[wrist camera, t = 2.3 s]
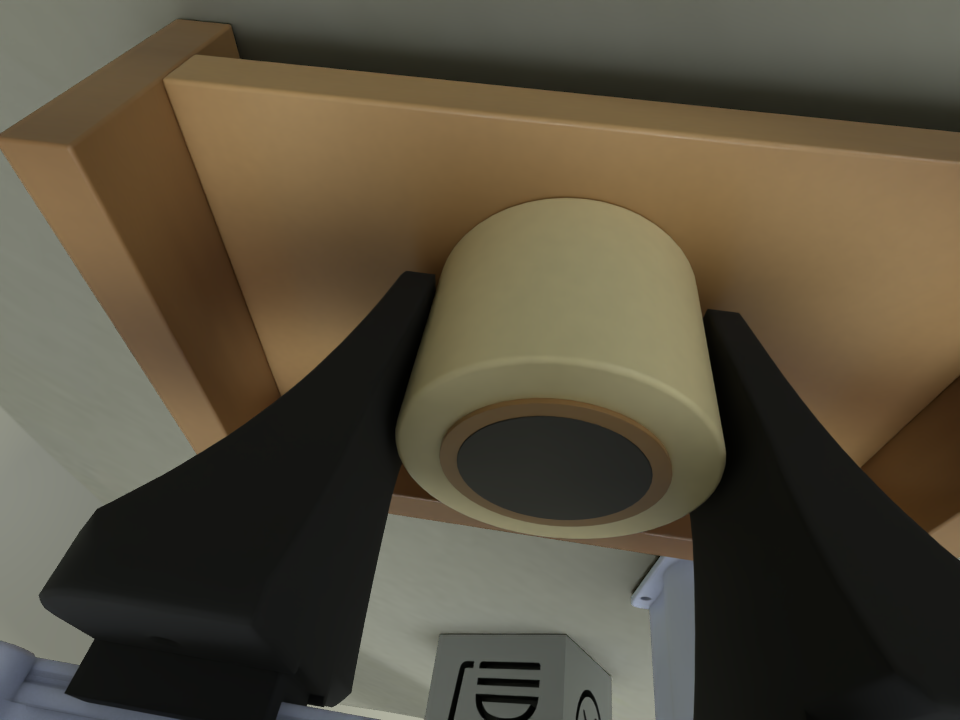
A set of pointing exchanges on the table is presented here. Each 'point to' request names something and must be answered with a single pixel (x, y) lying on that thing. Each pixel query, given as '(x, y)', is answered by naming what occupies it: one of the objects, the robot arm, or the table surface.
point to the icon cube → (516, 680)
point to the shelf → (474, 198)
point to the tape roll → (564, 377)
